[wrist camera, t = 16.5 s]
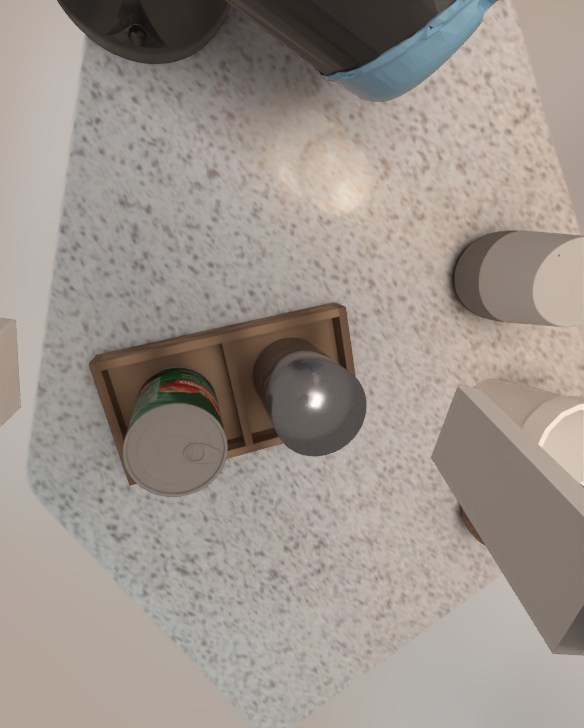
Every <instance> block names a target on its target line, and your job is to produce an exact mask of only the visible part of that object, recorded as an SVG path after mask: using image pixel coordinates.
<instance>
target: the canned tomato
mask: <svg viewBox="0 0 584 728" xmlns="http://www.w3.org/2000/svg"><path fill="white" fill-rule="evenodd" d="M227 449H228V445H227V438H226V435H225V431H224V427H223V422H222V418H221V414H220V409H219V405H218V400H217V395H216V392H215V389H214V387H213V385H212V384H211V382H210V381H209V380H208V379H207V378H206V376H204V375H203V374H202V373H200V372H199V371H196V370H194V369H192V368H188V367H184V366H173V367H167V368H164V369H161V370H159V371H157V372H155V373H153V374H152V375H151V376H150V377H148V378H147V379H146V381H145V382H144V383H143V384H142V386H141V388H140V390H139V392H138V396H137V400H136V404H135V407H134V411H133V414H132V417H131V421H130V424H129V427H128V431H127V434H126V436H125V440H124V444H123V460H124V465H125V467H126V469H127V471H128V474H129V475H130V476H131V478H132V479H133V480H134V481H135V482H136V483H137V484H138V485H139V486H140V487H142V488H144V489H145V490H147V491H149V492H151V493H154V494H157V495H161V496H167V497H179V496H184V495H189V494H192V493H194V492H197V491H199V490H201V489H203V488H204V487H206V486H207V485H209V484H210V483H211V482H212V481H213V480H214V479H215V478H216V477H217V476H218V474H219V473H220V472H221V470H222V468H223V466H224V464H225V461H226V457H227Z"/></svg>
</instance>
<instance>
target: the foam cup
mask: <svg viewBox="0 0 584 728" xmlns="http://www.w3.org/2000/svg"><path fill="white" fill-rule="evenodd" d="M475 388H476V389H480V390H481V391H483V392H484V393H485V394H486V395H487V396H488V397H489V398H490V399H491V400H492V401H493V402H494V403H495V404H496V405H497V406H498V407H499V408H500V409H501V410H503V411H504V412H505V413H506V414H507V415H508V416H509V417H510V418H511V419H512V420H513V421H514V422H515V423H516V424H517V425H518V426H519V427H520V428H521V429H523V430H524V431H525V432H526V433H527V434H528V435H529V436H530V437H531V438H532V439H533V440H534V441H535V442H536V443H537V444H538V445H539V446H540V447H542V448H543V449H544V450H545V451H546V452H547V453H548V454H549V455H550V456H551V457H552V458H553V459H554V460H555V461H556V462H557V463H558V464H559V465H560V466H562V467H563V468H564V469H565V470H566V471H567V472H568V473H569V474H570V475H571V476H572V477H573V478H574V479H575V480H576V481H577V482H578V483H580V484H581V485H583V486H584V399H583V398H580V397H577V396H565V395H561V394H556V393H552V392H548V391H543V390H539V389H535V388H531V387H526V386H522V385H518V384H514V383H509V382H505V381H499V380H489V379H488V380H486V381H484V382H482V383H479V384H478V385H477V386H476V387H475Z"/></svg>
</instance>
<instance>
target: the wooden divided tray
mask: <svg viewBox="0 0 584 728" xmlns="http://www.w3.org/2000/svg"><path fill="white" fill-rule="evenodd" d="M288 337H295V338H301V339H304V340H307V341H309V342H310V343H312V344H313V345H314V346H316V347H317V348H318V349H320V350H321V351H322V352H324V353H325V354H326V355H328V356H329V357H330V358H332V359H333V360H334V361H336V362H337V363H338V364H339V365H341V366H342V367H343V368H345V369H346V370H347V371H349V372H350V373H351V374H353V375H354V376H355V370H354V362H353V355H352V348H351V341H350V334H349V327H348V319H347V312H346V307H345V306H342V305H340V304H337V303H330V304H325V305H321V306H316V307H312V308H307V309H303V310H298V311H294V312H289V313H284V314H280V315H275V316H271V317H266V318H262V319H257V320H253V321H248V322H244V323H239V324H235V325H230V326H226V327H221V328H217V329H212V330H208V331H203V332H199V333H194V334H190V335H185V336H181V337H176V338H172V339H167V340H163V341H158V342H154V343H149V344H145V345H140V346H136V347H131V348H126V349H122V350H117V351H113V352H108V353H104V354H99V355H96V356H95V358H94V359H93V360H92V361H91V363H90V364H89V366H90V369H91V372H92V375H93V378H94V381H95V384H96V387H97V390H98V393H99V396H100V399H101V402H102V405H103V408H104V411H105V414H106V417H107V420H108V423H109V426H110V429H111V432H112V435H113V438H114V441H115V444H116V447H117V450H118V453H119V456H120V459H121V462H122V465H123V468H124V471H125V473H126V476H127V479H128V482H129V485H134V484H137V483H136V482H135V481H134V480H133V479H132V478H131V476H130V475H129V474H128V471H127V469H126V467H125V465H124V460H123V444H124V440H125V436H126V434H127V431H128V427H129V424H130V421H131V417H132V414H133V411H134V407H135V404H136V400H137V396H138V392H139V390H140V388H141V386H142V384H143V383H144V382H145V381H146V379H147V378H148V377H150V376H151V375H152V374H153V373H155V372H157V371H159V370H161V369H164V368H167V367H173V366H184V367H188V368H192V369H194V370H196V371H199V372H200V373H202V374H203V375H204V376H206V378H207V379H208V380H209V381H210V382H211V384H212V385H213V387H214V389H215V392H216V395H217V400H218V405H219V409H220V414H221V418H222V422H223V427H224V431H225V435H226V438H227V445H228V449H227V457H226V459H228V458H231V457H235V456H239V455H242V454H246V453H249V452H253V451H257V450H260V449H264V448H268V447H271V446H275V445H278V444H282V443H283V442H282V441H281V439H280V438H279V436H278V434H277V432H276V430H275V428H274V426H273V424H272V422H271V420H270V418H269V416H268V414H267V412H266V410H265V408H264V406H263V404H262V402H261V400H260V398H259V396H258V394H257V392H256V390H255V388H254V384H253V368H254V364H255V362H256V359H257V358H258V356H259V354H260V353H261V352H262V351H263V350H264V349H265V348H266V347H267V346H268V345H269V344H271V343H273V342H274V341H277V340H279V339H282V338H288Z"/></svg>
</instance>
